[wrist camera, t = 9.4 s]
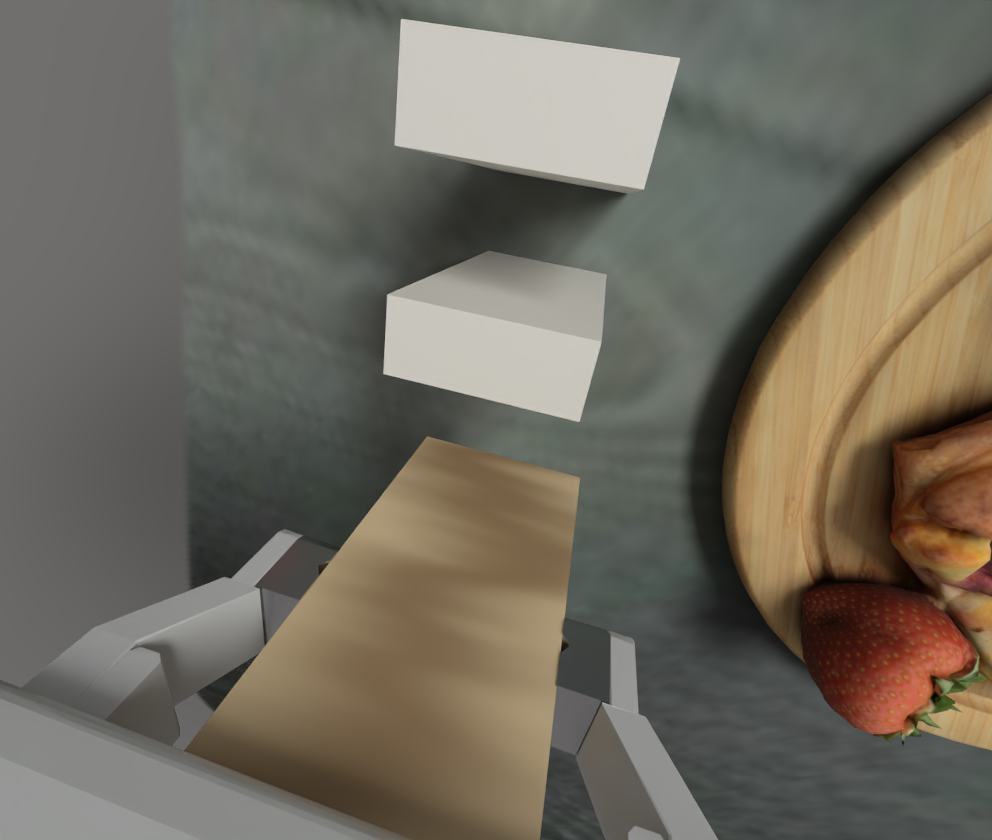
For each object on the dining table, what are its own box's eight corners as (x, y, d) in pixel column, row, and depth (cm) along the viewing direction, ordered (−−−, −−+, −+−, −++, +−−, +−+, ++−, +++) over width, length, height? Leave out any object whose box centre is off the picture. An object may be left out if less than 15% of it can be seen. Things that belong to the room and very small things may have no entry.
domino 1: (579, 477, 14) (529, 928, 5) (564, 527, 15) (500, 981, 6) (427, 436, 15) (159, 783, 6) (421, 486, 16) (180, 850, 7)
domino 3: (606, 274, 19) (601, 341, 10) (593, 322, 20) (579, 422, 11) (488, 250, 19) (387, 294, 11) (481, 297, 20) (382, 373, 12)
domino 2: (644, 132, 17) (680, 58, 8) (627, 193, 17) (643, 189, 9) (508, 110, 17) (401, 18, 8) (500, 170, 18) (394, 145, 9)
